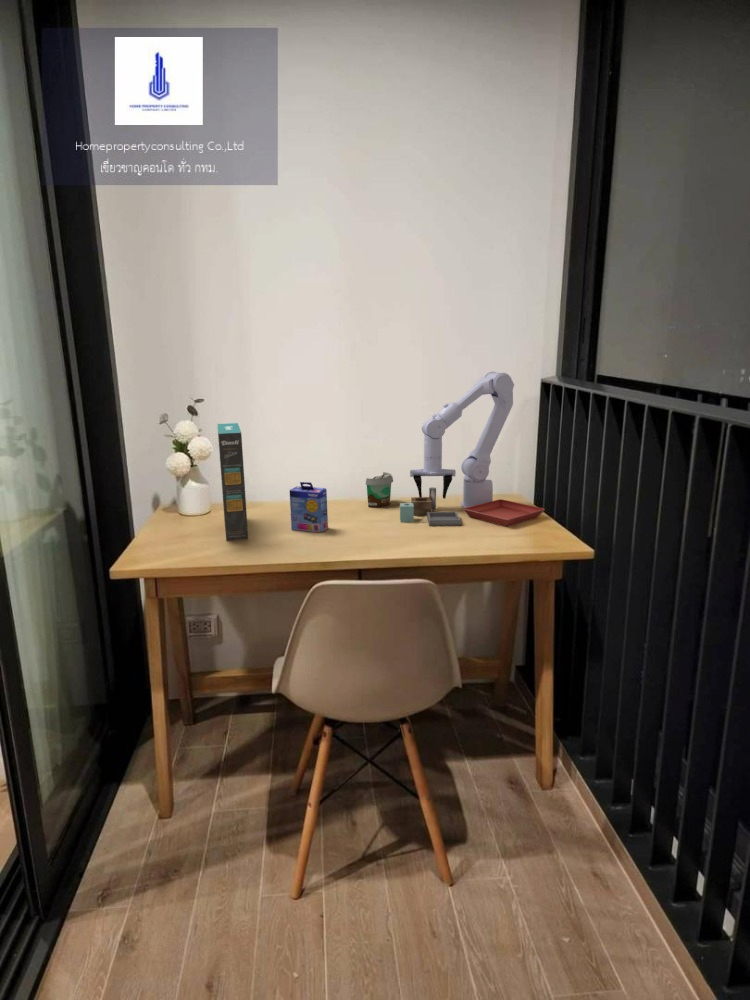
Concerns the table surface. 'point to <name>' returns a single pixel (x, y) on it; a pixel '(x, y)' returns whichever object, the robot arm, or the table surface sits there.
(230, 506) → the cake mix box
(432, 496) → the steel pin
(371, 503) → the food container
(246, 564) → the table surface
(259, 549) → the table surface
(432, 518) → the tray
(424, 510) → the walnut block
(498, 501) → the plant saucer
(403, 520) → the teal block
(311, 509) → the ink cartridge box
